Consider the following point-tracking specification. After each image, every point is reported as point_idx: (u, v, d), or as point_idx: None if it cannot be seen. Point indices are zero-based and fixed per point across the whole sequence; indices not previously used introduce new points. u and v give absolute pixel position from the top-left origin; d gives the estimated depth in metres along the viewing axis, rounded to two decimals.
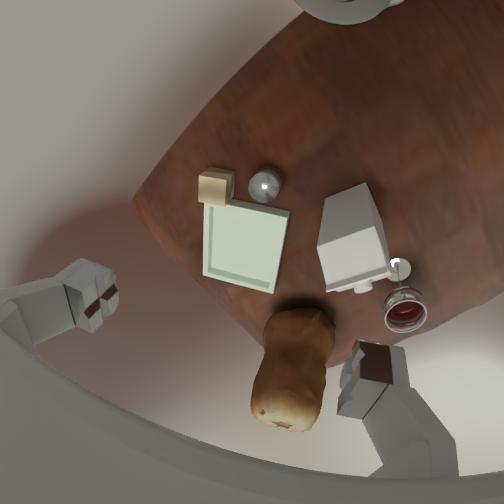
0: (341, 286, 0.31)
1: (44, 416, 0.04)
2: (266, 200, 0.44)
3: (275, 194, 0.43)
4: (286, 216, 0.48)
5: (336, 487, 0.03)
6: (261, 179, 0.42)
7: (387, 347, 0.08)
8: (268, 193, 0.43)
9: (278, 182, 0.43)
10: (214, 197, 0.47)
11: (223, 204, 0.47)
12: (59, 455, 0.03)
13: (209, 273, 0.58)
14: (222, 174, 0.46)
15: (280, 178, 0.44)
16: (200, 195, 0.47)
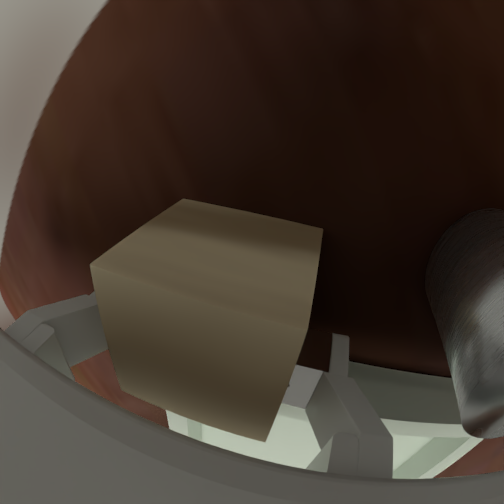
0: None
1: (44, 416, 0.04)
2: None
3: None
4: None
5: (336, 486, 0.03)
6: None
7: (330, 334, 0.08)
8: None
9: None
10: (205, 401, 0.07)
11: (259, 435, 0.07)
12: (60, 455, 0.03)
13: None
14: (257, 256, 0.07)
15: None
16: (123, 371, 0.07)
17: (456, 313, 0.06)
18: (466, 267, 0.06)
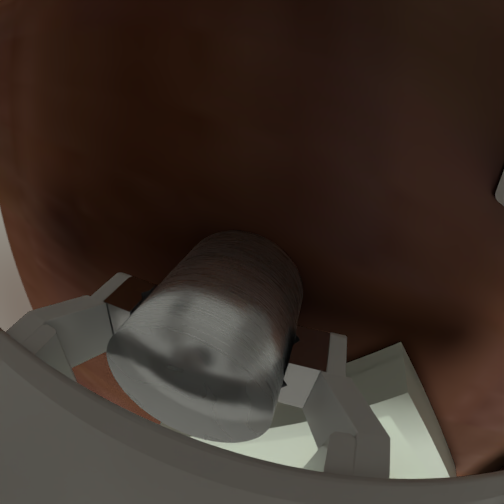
0: None
1: (44, 416, 0.04)
2: (248, 431, 0.07)
3: (256, 396, 0.06)
4: (400, 385, 0.08)
5: (336, 487, 0.03)
6: (135, 361, 0.06)
7: (327, 334, 0.08)
8: (223, 406, 0.06)
9: (229, 314, 0.06)
10: None
11: None
12: (60, 455, 0.03)
13: None
14: None
15: (247, 273, 0.08)
16: None
17: None
18: None
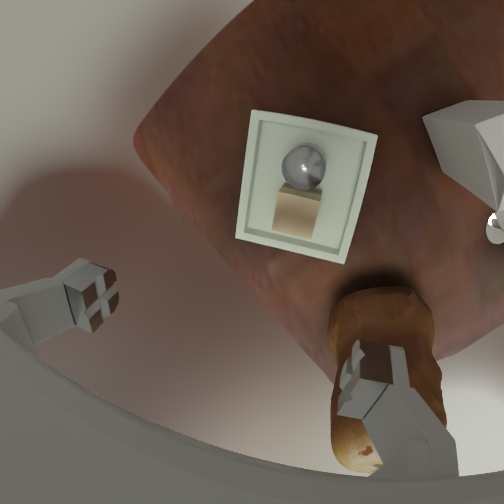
0: None
1: (44, 416, 0.04)
2: (319, 179, 0.29)
3: (321, 162, 0.28)
4: (375, 134, 0.29)
5: (336, 487, 0.03)
6: (292, 159, 0.29)
7: (387, 346, 0.08)
8: (313, 169, 0.29)
9: (314, 149, 0.29)
10: (298, 225, 0.33)
11: (309, 236, 0.33)
12: (59, 455, 0.03)
13: (246, 234, 0.38)
14: (309, 193, 0.33)
15: (314, 146, 0.30)
16: (276, 221, 0.33)
17: None
18: None
